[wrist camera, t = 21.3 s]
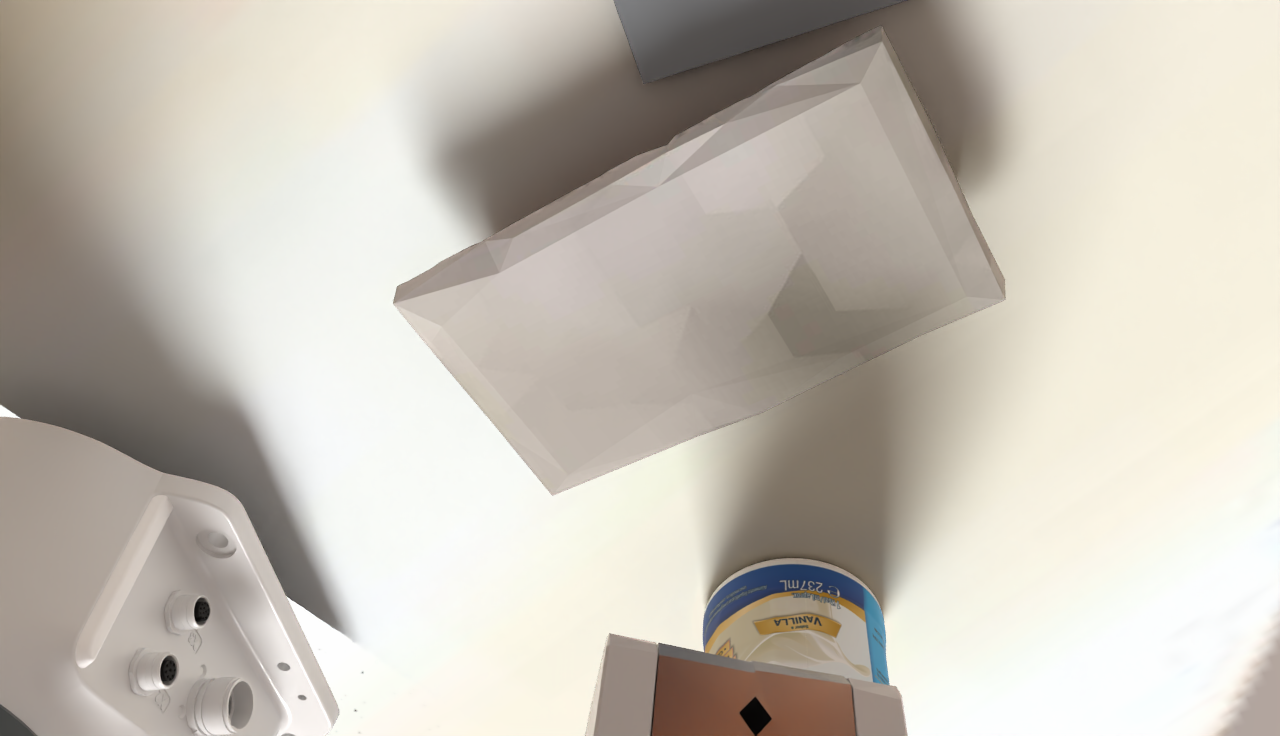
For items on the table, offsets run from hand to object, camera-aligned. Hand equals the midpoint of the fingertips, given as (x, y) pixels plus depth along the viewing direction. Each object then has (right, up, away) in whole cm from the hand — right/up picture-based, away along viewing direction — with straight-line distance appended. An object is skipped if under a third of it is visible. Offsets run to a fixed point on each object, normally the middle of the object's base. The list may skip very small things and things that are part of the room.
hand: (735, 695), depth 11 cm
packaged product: (+4, +3, +28) cm, 28 cm away
